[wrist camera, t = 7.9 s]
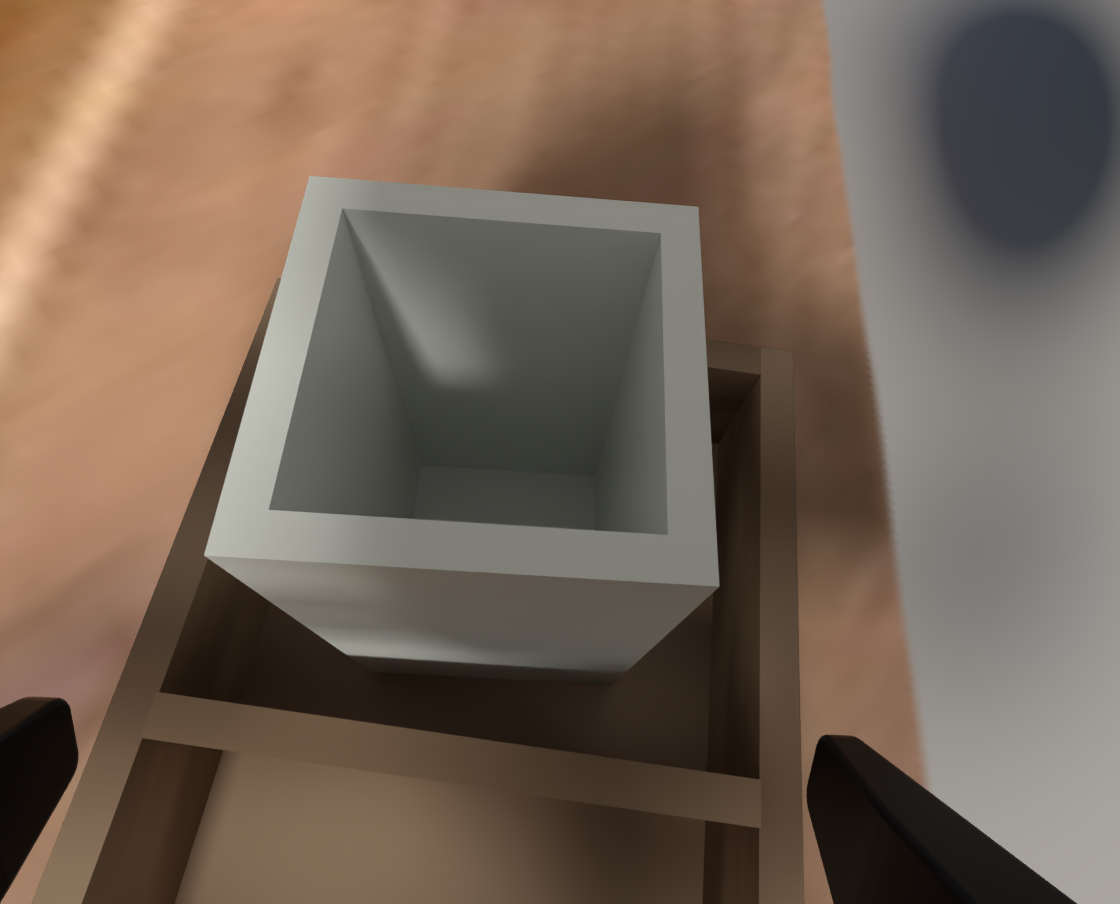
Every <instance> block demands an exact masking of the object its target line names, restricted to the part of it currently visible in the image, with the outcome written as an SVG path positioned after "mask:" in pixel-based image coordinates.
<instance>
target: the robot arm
mask: <svg viewBox="0 0 1120 904" xmlns="http://www.w3.org/2000/svg"><path fill="white" fill-rule="evenodd" d="M77 764H78V748H77V742H76V737H75V731H74V726H73V721H72V715H71V710H70V707H69V705H68V703H67V702H66V701H65V700H63V699H61V698H53V697H25V698H22V699H19V700H17V701H15V702H13V703H11V704H8V705H6V706H4V707H2V708H0V902H1V901H2V899H3V897H4V896H5V894H6V893H7V891H8V889H9V888H10V886H11V884H12V882H13V881H14V879H15V877H16V875H17V874H18V872H19V870H20V868H21V867H22V865H23V863H24V862H25V860H26V858H27V856H28V855H29V853H30V851H31V849H32V848H33V846H34V844H35V842H36V841H37V839H38V837H39V835H40V834H41V832H42V830H43V828H44V827H45V825H46V823H47V821H48V820H49V818H50V816H51V815H52V813H53V811H54V809H55V808H56V806H57V804H58V802H59V801H60V799H61V797H62V795H63V794H64V792H65V790H66V788H67V787H68V785H69V783H70V781H71V780H72V778H73V776H74V773H75V771H76V768H77ZM807 805H808V810H809V814H810V817H811V821H812V825H813V829H814V832H815V836H816V840H817V843H818V847H819V851H820V855H821V858H822V862H823V866H824V869H825V873H826V877H827V881H828V884H829V888H830V892H831V895H832V899H833V903H834V904H1077V903H1075V902H1074V901H1073V900H1071V899H1070V898H1069V897H1067V896H1066V895H1065V894H1064V893H1062V892H1061V891H1059V890H1058V889H1057V888H1056V887H1054V886H1053V885H1052V884H1050V883H1049V882H1048V881H1046V880H1045V879H1044V878H1042V877H1041V876H1040V875H1038V874H1037V873H1036V872H1035V871H1033V870H1032V869H1030V868H1029V867H1028V866H1027V865H1025V864H1024V863H1023V862H1021V861H1020V860H1019V859H1017V858H1016V857H1015V856H1013V855H1012V854H1011V853H1009V852H1008V851H1007V850H1005V849H1004V848H1003V847H1001V846H1000V845H999V844H997V843H996V842H994V840H992V839H991V838H990V837H988V836H987V835H986V834H984V833H983V832H982V831H980V830H979V829H978V828H976V827H975V826H974V825H972V824H971V823H970V822H968V821H967V820H966V819H964V818H963V817H962V816H960V815H959V814H958V813H957V812H955V811H954V810H953V809H951V808H950V807H949V806H947V805H946V804H945V803H943V802H942V801H941V800H939V799H938V798H937V797H935V796H934V795H933V794H931V793H930V792H929V791H928V790H926V789H925V788H924V787H922V786H921V785H920V784H918V783H917V782H916V781H914V780H913V779H912V778H910V777H909V776H908V775H906V774H905V773H904V772H902V771H901V770H900V769H898V768H897V767H896V766H894V765H893V764H892V763H891V762H889V761H888V760H887V759H885V758H884V757H883V756H881V755H880V754H879V753H877V752H876V751H875V750H873V749H872V748H871V747H869V746H868V745H867V744H865V743H864V742H863V741H861V740H860V739H858V738H857V737H854V736H847V735H824V736H822V737H821V738H820V739H819V741H818V743H817V746H816V750H815V754H814V759H813V763H812V767H811V772H810V776H809V780H808V785H807Z"/></svg>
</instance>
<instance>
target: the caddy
mask: <svg viewBox="0 0 1120 904" xmlns="http://www.w3.org/2000/svg"><path fill="white" fill-rule="evenodd" d="M204 556H205V557H207V558H208V559H210V560H211V561H213V562H214V563H215V564H217V565H218V566H220V567H221V568H223V569H224V570H225V571H227V572H228V573H230V574H231V575H233V576H234V577H235V578H237V579H238V580H240V581H241V582H243V583H244V584H246V585H247V586H248V587H250V588H251V589H253V590H254V591H256V592H257V593H258V594H260V595H261V596H263V597H264V598H266V599H267V600H268V601H270V602H271V603H273V604H274V605H276V606H277V607H278V608H280V609H281V610H283V611H284V612H286V613H287V614H289V615H290V616H291V617H293V618H294V619H296V620H297V621H299V622H300V623H301V624H303V625H304V626H306V627H307V628H309V629H310V630H311V631H313V632H314V633H316V634H317V635H319V636H320V637H321V638H323V639H324V640H326V641H327V642H329V643H330V644H331V645H333V646H334V647H336V648H337V649H339V650H340V651H342V652H343V653H344V654H346V655H347V656H349V657H350V658H352V659H353V660H354V661H356V662H357V663H359V664H360V665H362V666H363V667H364V668H366V669H367V670H369V671H370V672H380V673H399V674H417V675H435V676H453V677H471V678H489V679H507V680H525V681H544V682H562V683H580V684H598V685H613V684H614V683H615V682H616V681H617V680H618V679H619V678H620V677H621V676H622V675H623V674H625V673H626V672H627V671H628V670H629V669H630V668H631V667H632V666H633V665H634V664H635V663H637V662H638V661H639V660H640V659H641V658H642V657H643V656H644V655H645V654H646V653H647V652H649V651H650V650H651V649H652V648H653V647H654V646H655V645H656V644H657V643H658V642H659V641H661V640H662V639H663V638H664V637H665V636H666V635H667V634H668V633H669V632H670V631H672V630H673V629H674V628H675V627H676V626H677V625H678V624H679V623H680V622H681V621H682V620H684V619H685V618H686V617H687V616H688V615H689V614H690V613H691V612H692V611H693V610H694V609H696V608H697V607H698V606H699V605H700V604H701V603H702V602H703V601H704V600H705V599H706V598H708V597H709V596H710V595H711V594H712V593H713V592H714V591H715V590H716V589H717V588H718V587H719V570H718V552H717V534H716V516H715V498H714V480H713V462H712V444H711V426H710V408H709V390H708V372H707V354H706V336H705V317H704V299H703V281H702V263H701V245H700V227H699V209H698V207H696V206H683V205H670V204H658V203H645V202H632V201H620V200H607V199H595V198H582V197H569V196H557V195H544V194H531V193H519V192H506V191H494V190H481V189H468V188H456V187H443V186H430V185H418V184H405V183H393V182H380V181H367V180H355V179H342V178H329V177H317V176H310V177H309V181H308V184H307V188H306V191H305V195H304V199H303V202H302V206H301V209H300V213H299V217H298V220H297V224H296V227H295V231H294V234H293V238H292V242H291V245H290V249H289V252H288V256H287V260H286V263H285V267H284V270H283V274H282V277H281V281H280V285H279V288H278V292H277V295H276V299H275V303H274V306H273V310H272V313H271V317H270V320H269V324H268V328H267V331H266V335H265V338H264V342H263V346H262V349H261V353H260V356H259V360H258V363H257V367H256V371H255V374H254V378H253V381H252V385H251V389H250V392H249V396H248V399H247V403H246V407H245V410H244V414H243V417H242V421H241V424H240V428H239V432H238V435H237V439H236V442H235V446H234V450H233V453H232V457H231V460H230V464H229V467H228V471H227V475H226V478H225V482H224V485H223V489H222V493H221V496H220V500H219V503H218V507H217V510H216V514H215V518H214V521H213V525H212V528H211V532H210V536H209V539H208V543H207V546H206V550H205V553H204Z"/></svg>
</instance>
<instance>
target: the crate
mask: <svg viewBox="0 0 1120 904" xmlns="http://www.w3.org/2000/svg"><path fill="white" fill-rule="evenodd" d="M280 281H281V278H277V281H276V283H275V286H274V289H273V291H272V294H271V296H270V299H269V301H268V304H267V306H266V309H265V311H264V314H263V316H262V319H261V322H260V324H259V327H258V329H257V332H256V334H255V337H254V339H253V342H252V344H251V347H250V349H249V352H248V355H247V357H246V360H245V362H244V365H243V367H242V370H241V372H240V375H239V377H238V380H237V383H236V385H235V388H234V390H233V393H232V395H231V398H230V400H229V403H228V405H227V408H226V410H225V413H224V416H223V418H222V421H221V423H220V426H219V428H218V431H217V433H216V436H215V438H214V441H213V444H212V446H211V449H210V451H209V454H208V456H207V459H206V461H205V464H204V466H203V469H202V471H201V474H200V477H199V479H198V482H197V484H196V487H195V489H194V492H193V494H192V497H191V499H190V502H189V504H188V507H187V510H186V512H185V515H184V517H183V520H182V522H181V525H180V527H179V530H178V532H177V535H176V538H175V540H174V543H173V545H172V548H171V550H170V553H169V555H168V558H167V560H166V563H165V565H164V568H163V571H162V573H161V576H160V578H159V581H158V583H157V586H156V588H155V591H154V593H153V596H152V599H151V601H150V604H149V606H148V609H147V611H146V614H145V616H144V619H143V621H142V624H141V626H140V629H139V632H138V634H137V637H136V639H135V642H134V644H133V647H132V649H131V652H130V654H129V657H128V659H127V662H126V665H125V667H124V670H123V672H122V675H121V677H120V680H119V682H118V685H117V687H116V690H115V693H114V695H113V698H112V700H111V703H110V705H109V708H108V710H107V713H106V715H105V718H104V720H103V723H102V726H101V728H100V731H99V733H98V736H97V738H96V741H95V743H94V746H93V748H92V751H91V754H90V756H89V759H88V761H87V764H86V766H85V769H84V771H83V774H82V776H81V779H80V781H79V784H78V787H77V789H76V792H75V794H74V797H73V799H72V802H71V804H70V807H69V809H68V812H67V814H66V817H65V820H64V822H63V825H62V827H61V830H60V832H59V835H58V837H57V840H56V842H55V845H54V848H53V850H52V853H51V855H50V858H49V860H48V863H47V865H46V868H45V870H44V873H43V875H42V878H41V881H40V883H39V886H38V888H37V891H36V893H35V896H34V898H33V901H32V903H31V904H804V872H803V823H802V774H801V725H800V677H799V628H798V579H797V531H796V482H795V433H794V384H793V352H790V351H783V350H776V349H769V348H762V347H755V346H748V345H741V344H734V343H727V342H720V341H713V340H706V354H707V372H708V390H709V408H710V426H711V444H712V462H713V480H714V498H715V516H716V534H717V552H718V570H719V587H718V588H717V589H716V590H715V591H714V592H713V593H712V594H711V595H710V596H709V597H708V598H706V599H705V600H704V601H703V602H702V603H701V604H700V605H699V606H698V607H697V608H696V609H694V610H693V611H692V612H691V613H690V614H689V615H688V616H687V617H686V618H685V619H684V620H682V621H681V622H680V623H679V624H678V625H677V626H676V627H675V628H674V629H673V630H672V631H670V632H669V633H668V634H667V635H666V636H665V637H664V638H663V639H662V640H661V641H659V642H658V643H657V644H656V645H655V646H654V647H653V648H652V649H651V650H650V651H649V652H647V653H646V654H645V655H644V656H643V657H642V658H641V659H640V660H639V661H638V662H637V663H635V664H634V665H633V666H632V667H631V668H630V669H629V670H628V671H627V672H626V673H625V674H623V675H622V676H621V677H620V678H619V679H618V680H617V681H616V682H615V683H614V684H613V685H598V684H580V683H562V682H544V681H525V680H507V679H489V678H471V677H453V676H435V675H417V674H399V673H380V672H370V671H369V670H367V669H366V668H364V667H363V666H362V665H360V664H359V663H357V662H356V661H354V660H353V659H352V658H350V657H349V656H347V655H346V654H344V653H343V652H342V651H340V650H339V649H337V648H336V647H334V646H333V645H331V644H330V643H329V642H327V641H326V640H324V639H323V638H321V637H320V636H319V635H317V634H316V633H314V632H313V631H311V630H310V629H309V628H307V627H306V626H304V625H303V624H301V623H300V622H299V621H297V620H296V619H294V618H293V617H291V616H290V615H289V614H287V613H286V612H284V611H283V610H281V609H280V608H278V607H277V606H276V605H274V604H273V603H271V602H270V601H268V600H267V599H266V598H264V597H263V596H261V595H260V594H258V593H257V592H256V591H254V590H253V589H251V588H250V587H248V586H247V585H246V584H244V583H243V582H241V581H240V580H238V579H237V578H235V577H234V576H233V575H231V574H230V573H228V572H227V571H225V570H224V569H223V568H221V567H220V566H218V565H217V564H215V563H214V562H213V561H211V560H210V559H208V558H207V557H205V556H204V553H205V550H206V546H207V543H208V539H209V536H210V532H211V528H212V525H213V521H214V518H215V514H216V510H217V507H218V503H219V500H220V496H221V493H222V489H223V485H224V482H225V478H226V475H227V471H228V467H229V464H230V460H231V457H232V453H233V450H234V446H235V442H236V439H237V435H238V432H239V428H240V424H241V421H242V417H243V414H244V410H245V407H246V403H247V399H248V396H249V392H250V389H251V385H252V381H253V378H254V374H255V371H256V367H257V363H258V360H259V356H260V353H261V349H262V346H263V342H264V338H265V335H266V331H267V328H268V324H269V320H270V317H271V313H272V310H273V306H274V303H275V299H276V295H277V292H278V288H279V285H280Z"/></svg>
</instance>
